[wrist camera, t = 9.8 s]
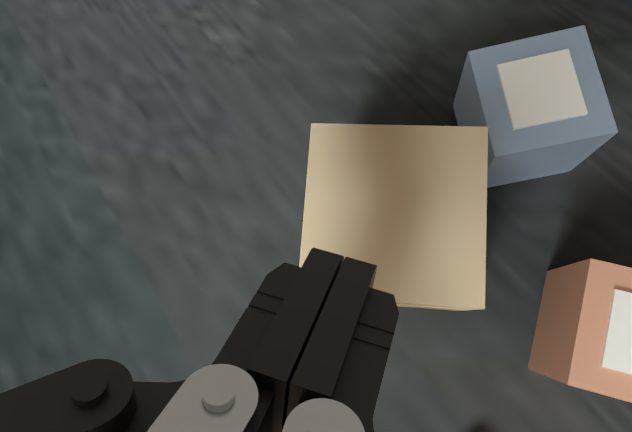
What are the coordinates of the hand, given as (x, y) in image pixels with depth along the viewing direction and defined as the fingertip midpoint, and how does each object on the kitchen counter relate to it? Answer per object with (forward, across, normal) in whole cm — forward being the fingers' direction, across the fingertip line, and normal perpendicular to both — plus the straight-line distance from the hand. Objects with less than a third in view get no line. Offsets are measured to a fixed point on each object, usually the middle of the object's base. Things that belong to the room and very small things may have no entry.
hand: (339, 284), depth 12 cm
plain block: (+14, 0, +9) cm, 16 cm away
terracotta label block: (+12, -11, +10) cm, 19 cm away
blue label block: (+19, -5, +4) cm, 20 cm away
